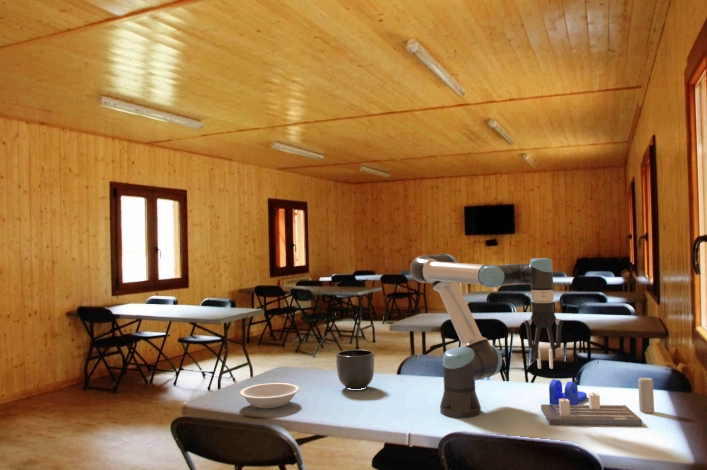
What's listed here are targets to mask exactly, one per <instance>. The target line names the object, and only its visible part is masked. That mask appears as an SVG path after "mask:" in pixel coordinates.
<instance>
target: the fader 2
mask: <svg viewBox="0 0 707 470" xmlns="http://www.w3.org/2000/svg"><path fill="white" fill-rule="evenodd" d="M600 398H601V396H600V394H599V393H595V392H591V393H588V405H589V407H590V408H591V409H600V405H601V402H600V400H601V399H600Z"/></svg>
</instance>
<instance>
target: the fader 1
mask: <svg viewBox="0 0 707 470" xmlns="http://www.w3.org/2000/svg"><path fill="white" fill-rule="evenodd" d="M559 413H560V415H570V401H569V400H568V399H564V398H562V399H559Z"/></svg>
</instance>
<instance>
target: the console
mask: <svg viewBox="0 0 707 470" xmlns="http://www.w3.org/2000/svg"><path fill="white" fill-rule="evenodd" d="M540 410H541V412H542V414H543V416H545V419H546V420H547V422H548V424H549V425H551V426H595V427H596V426H602V427H603V426H608V427H611V426H612V427H614V426H615V427H643V420H642V419H641V418H640V416H638V415H637V414H636V413H634V411H633V410H631V409H630V408H629V407H628V406H627V405H625V404H624V405H623V404H620V405H619V404H617V405H616V404H614V405H613V404H600V409H591V408H590V407H589V404H577V405H570V415H560V413H559V405H553V404H540Z"/></svg>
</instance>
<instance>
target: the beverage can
mask: <svg viewBox="0 0 707 470" xmlns="http://www.w3.org/2000/svg"><path fill="white" fill-rule="evenodd" d="M637 382H638V383H637V384H638V387H637V388H638V403H639V404H638V405H639V406H638V407H639V411H640V412H641V413H643V414H653V413H654V412H655V404H654V403H655V401H654V400H655V398H654V381H653V378H651V377H645V376H644V377H638V381H637Z"/></svg>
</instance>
